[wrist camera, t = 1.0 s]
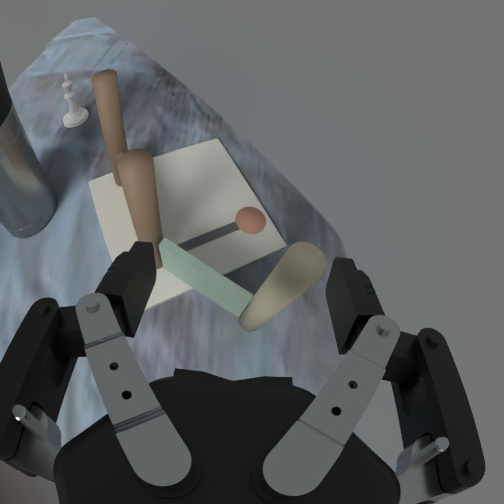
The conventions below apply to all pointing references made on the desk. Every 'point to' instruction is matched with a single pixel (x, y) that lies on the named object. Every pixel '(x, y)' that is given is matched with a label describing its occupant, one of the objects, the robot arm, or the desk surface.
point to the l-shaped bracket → (240, 300)
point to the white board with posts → (176, 201)
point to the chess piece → (73, 107)
